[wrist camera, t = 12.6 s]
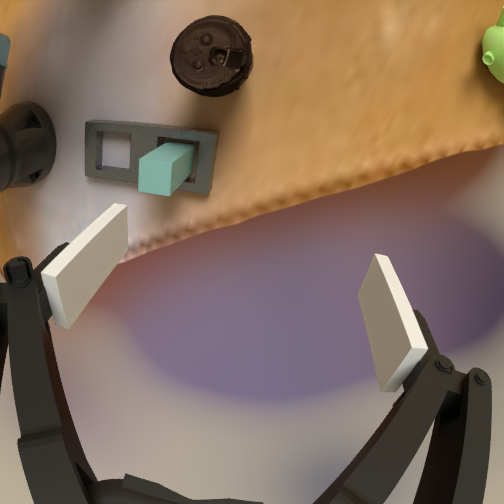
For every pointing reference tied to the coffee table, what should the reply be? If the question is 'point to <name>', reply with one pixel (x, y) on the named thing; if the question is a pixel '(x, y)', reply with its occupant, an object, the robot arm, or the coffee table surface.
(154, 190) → the teal brick
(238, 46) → the coffee cup
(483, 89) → the coffee table surface
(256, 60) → the coffee table surface
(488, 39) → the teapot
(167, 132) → the grey flat frame
